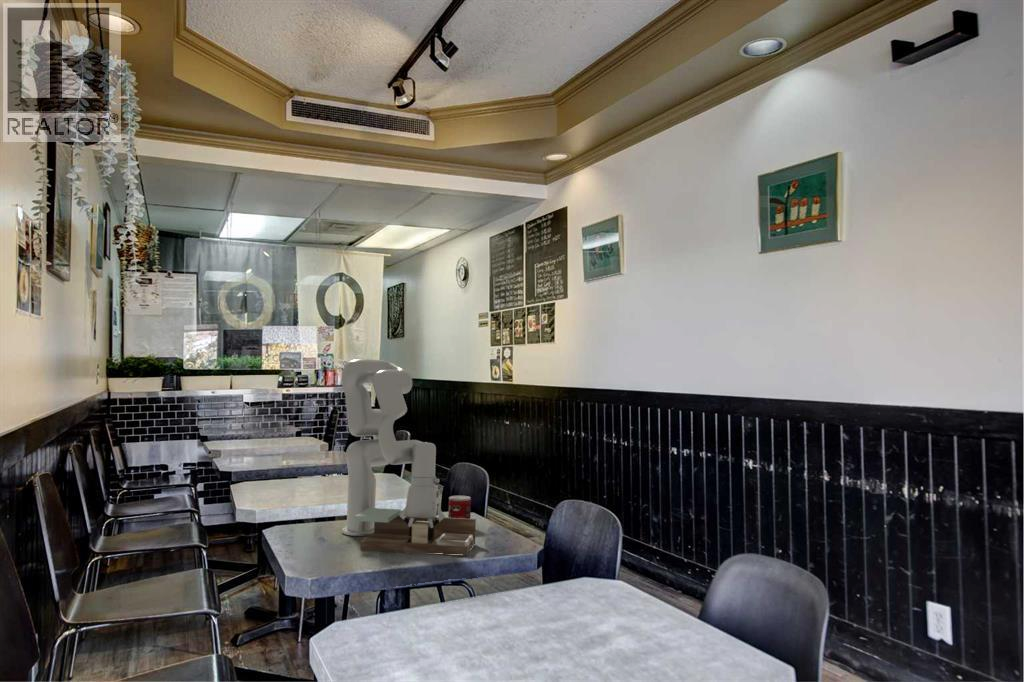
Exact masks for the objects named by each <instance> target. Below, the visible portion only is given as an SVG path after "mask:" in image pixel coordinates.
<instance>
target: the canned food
mask: <svg viewBox="0 0 1024 682" xmlns="http://www.w3.org/2000/svg"><path fill="white" fill-rule="evenodd" d="M471 505H472V498H471V496H469V495H468V496H467V495H451V496H449V497H448V512H447V513H448V517H447V518H466V519H471V510H472V509H471V507H472V506H471Z"/></svg>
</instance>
